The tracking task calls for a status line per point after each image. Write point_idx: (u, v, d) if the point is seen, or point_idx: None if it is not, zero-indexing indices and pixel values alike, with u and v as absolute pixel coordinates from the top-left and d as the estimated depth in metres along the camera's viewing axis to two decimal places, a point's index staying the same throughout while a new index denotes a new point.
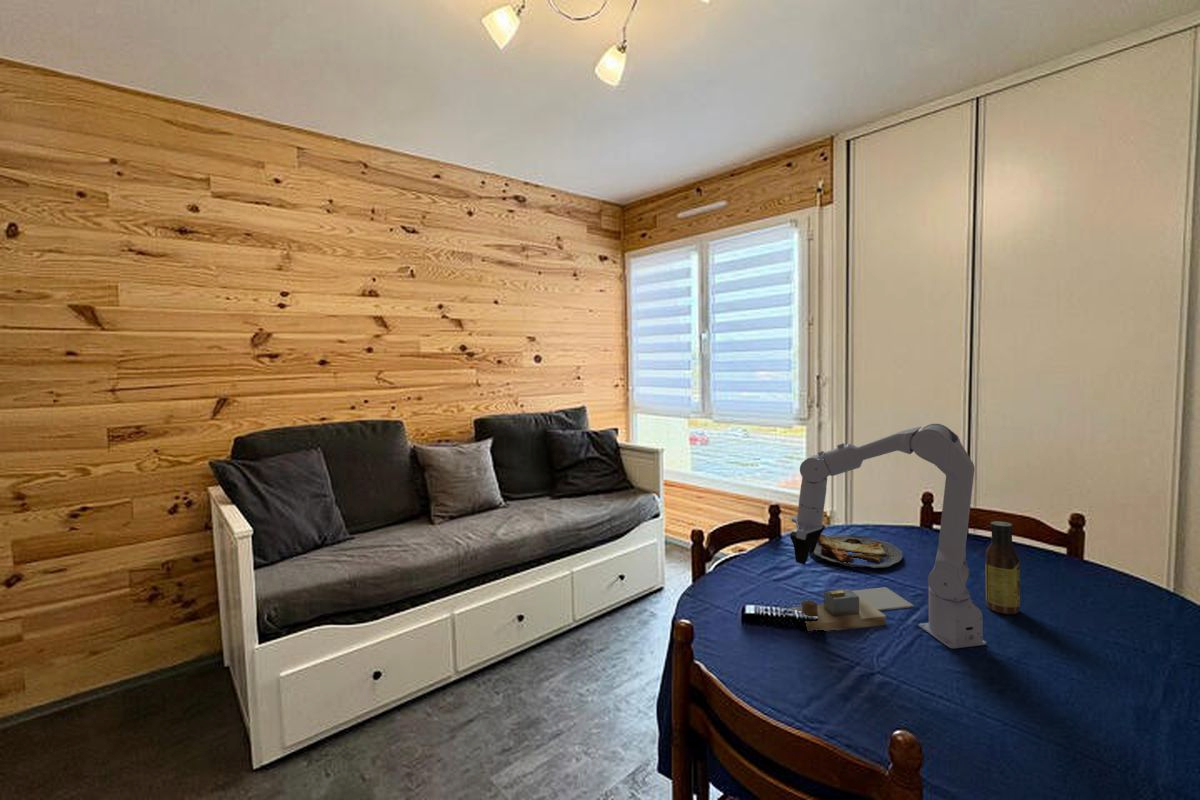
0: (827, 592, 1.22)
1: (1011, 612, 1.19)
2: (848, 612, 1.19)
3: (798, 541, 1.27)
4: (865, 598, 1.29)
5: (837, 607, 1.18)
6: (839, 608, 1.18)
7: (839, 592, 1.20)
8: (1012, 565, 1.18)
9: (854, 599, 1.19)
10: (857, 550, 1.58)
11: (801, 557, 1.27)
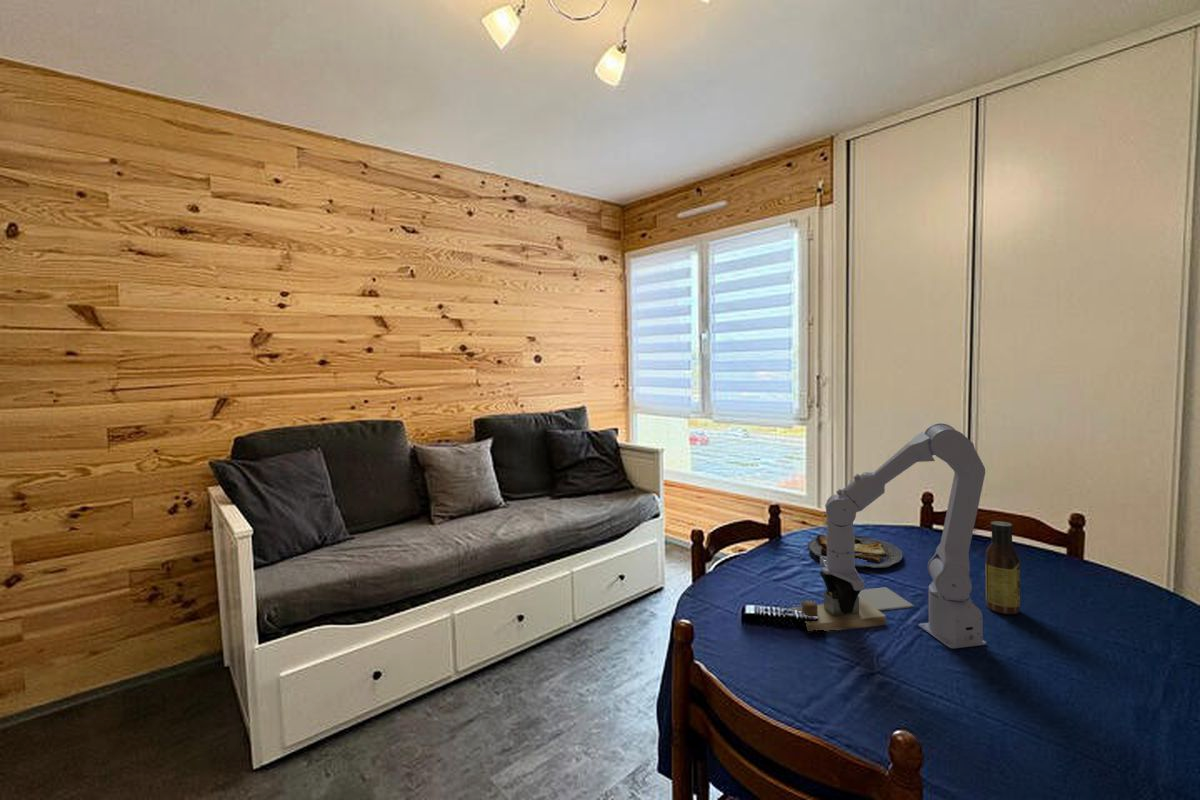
0: (827, 592, 1.22)
1: (1011, 612, 1.19)
2: None
3: None
4: (865, 598, 1.29)
5: (837, 607, 1.18)
6: (839, 608, 1.18)
7: None
8: (1012, 565, 1.18)
9: None
10: (857, 550, 1.58)
11: (848, 606, 1.18)
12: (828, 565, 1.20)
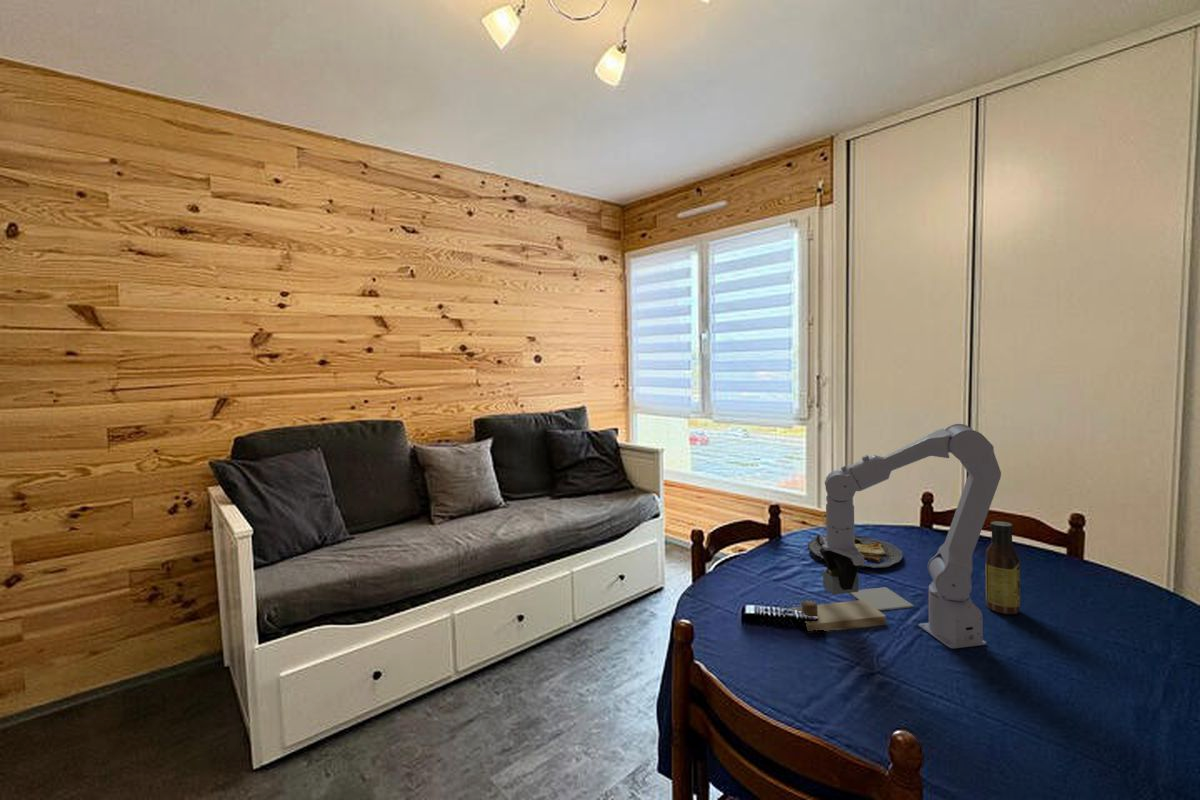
0: (826, 570, 1.21)
1: (1011, 612, 1.19)
2: (847, 590, 1.18)
3: None
4: (865, 598, 1.29)
5: (836, 585, 1.18)
6: (838, 586, 1.18)
7: (838, 570, 1.20)
8: (1012, 565, 1.18)
9: None
10: None
11: (848, 582, 1.17)
12: (828, 541, 1.19)
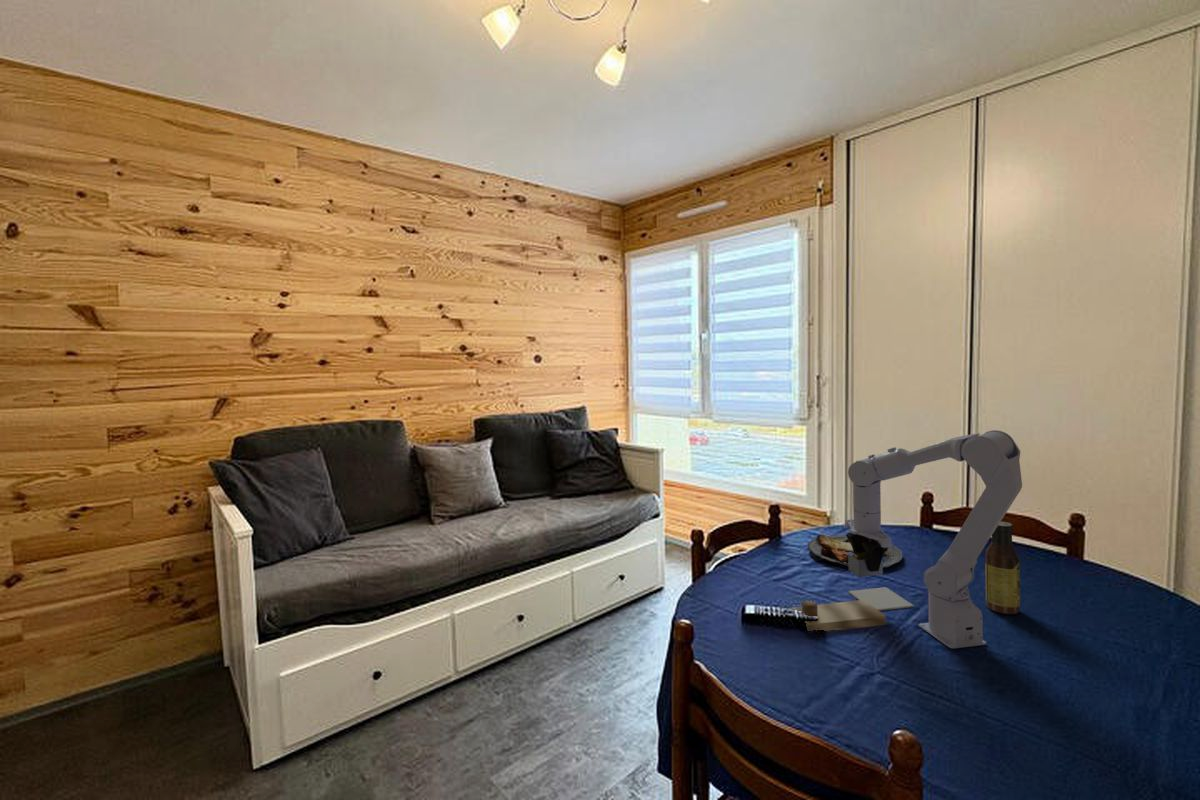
0: (851, 554, 1.26)
1: (1011, 612, 1.19)
2: (872, 572, 1.24)
3: None
4: (865, 598, 1.29)
5: (862, 568, 1.23)
6: (864, 569, 1.23)
7: (863, 554, 1.25)
8: (1012, 565, 1.18)
9: None
10: None
11: (875, 564, 1.23)
12: (855, 526, 1.25)
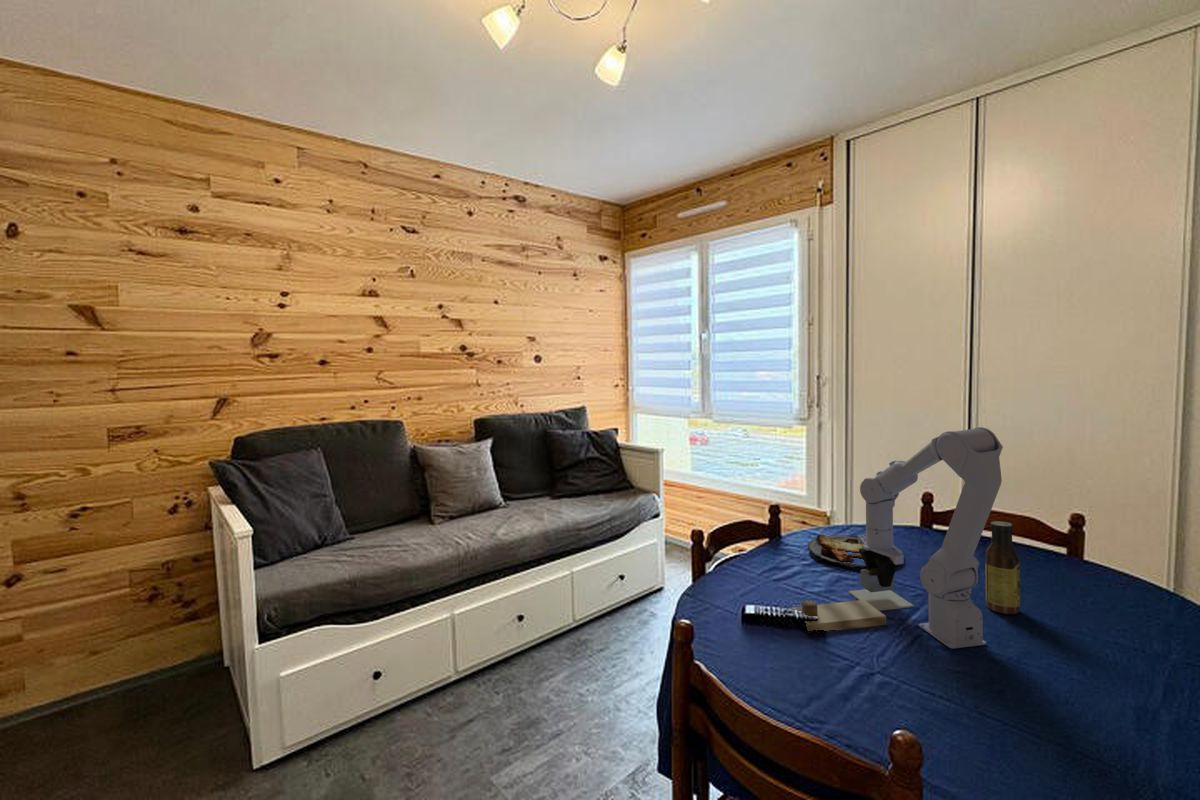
0: (864, 570, 1.30)
1: (1011, 612, 1.19)
2: (884, 588, 1.27)
3: None
4: (865, 598, 1.29)
5: (874, 583, 1.27)
6: (876, 584, 1.27)
7: (875, 569, 1.28)
8: (1012, 565, 1.18)
9: None
10: (857, 550, 1.58)
11: (887, 580, 1.26)
12: (868, 542, 1.28)
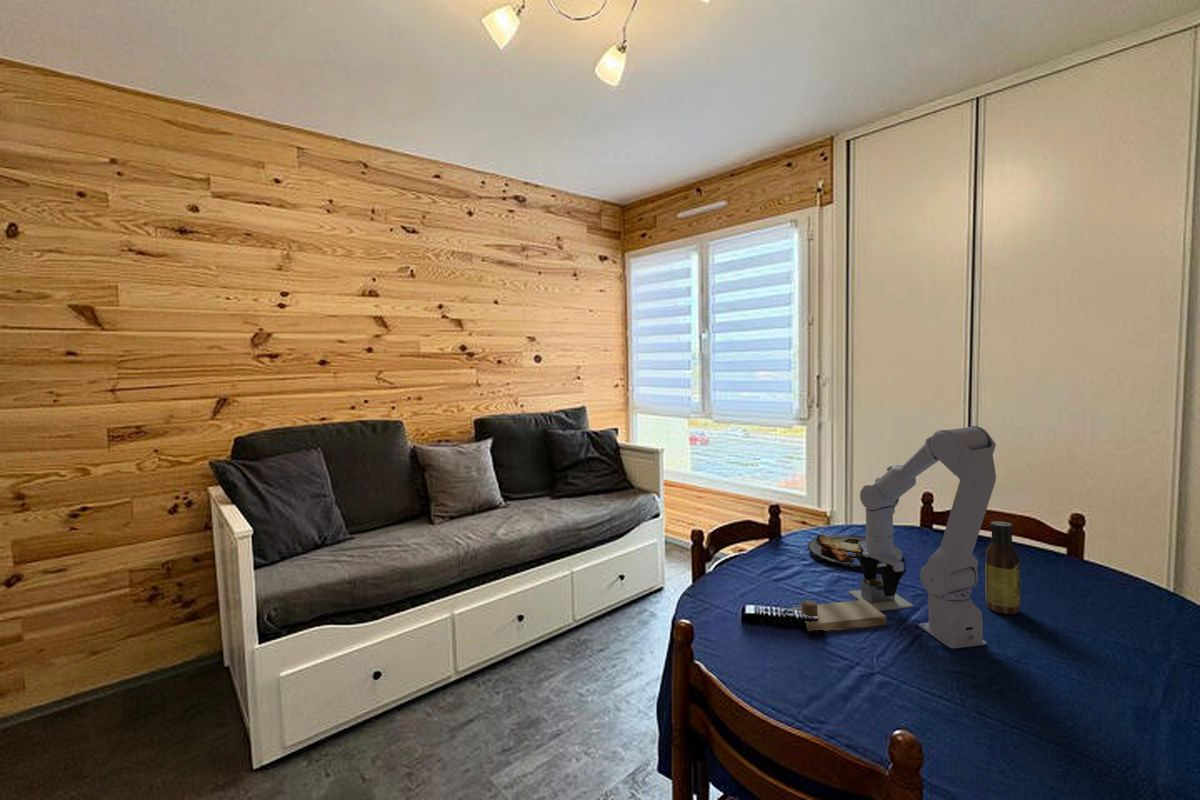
0: (864, 580, 1.30)
1: (1011, 612, 1.19)
2: (885, 599, 1.27)
3: None
4: None
5: (874, 594, 1.27)
6: (876, 595, 1.27)
7: (876, 580, 1.29)
8: (1012, 565, 1.18)
9: None
10: (857, 550, 1.58)
11: (891, 589, 1.25)
12: (868, 549, 1.28)
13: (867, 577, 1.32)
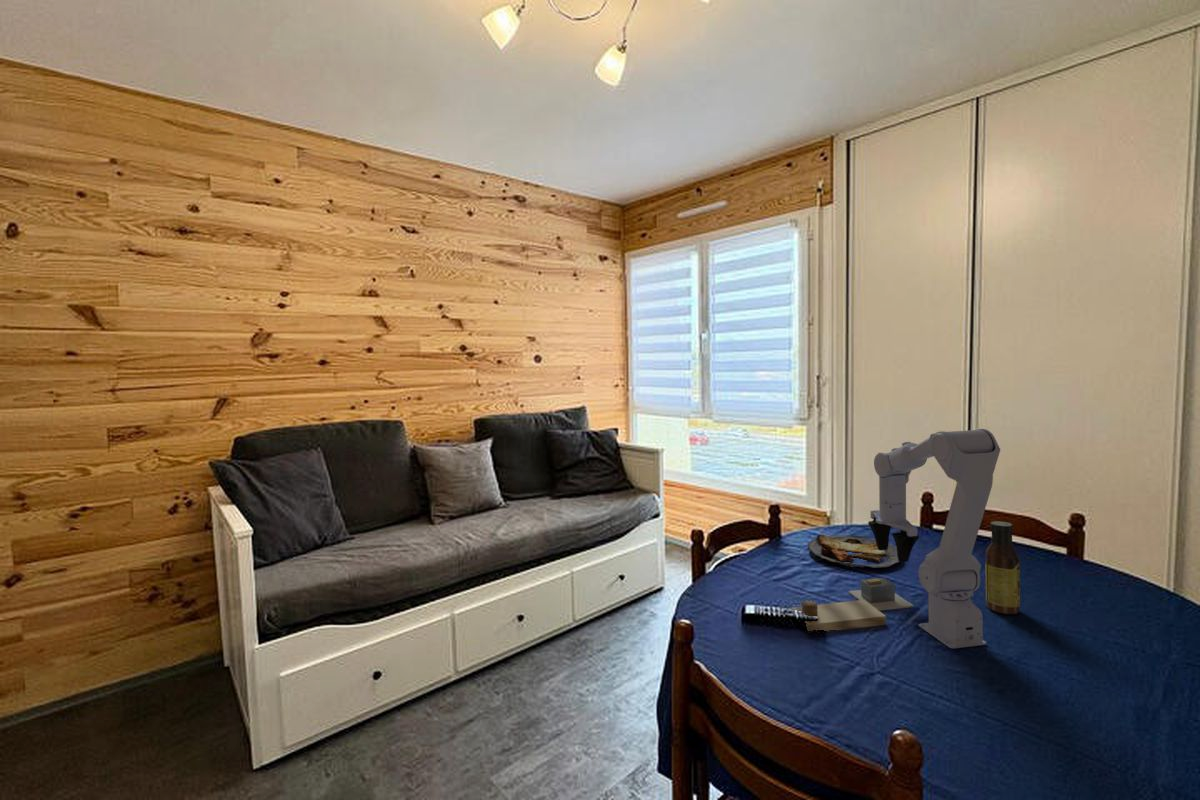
0: (864, 580, 1.30)
1: (1011, 612, 1.19)
2: (885, 599, 1.27)
3: None
4: None
5: (874, 594, 1.27)
6: (876, 595, 1.27)
7: (876, 580, 1.29)
8: (1012, 565, 1.18)
9: (890, 586, 1.27)
10: (857, 550, 1.58)
11: (905, 555, 1.27)
12: (881, 516, 1.31)
13: (880, 544, 1.35)
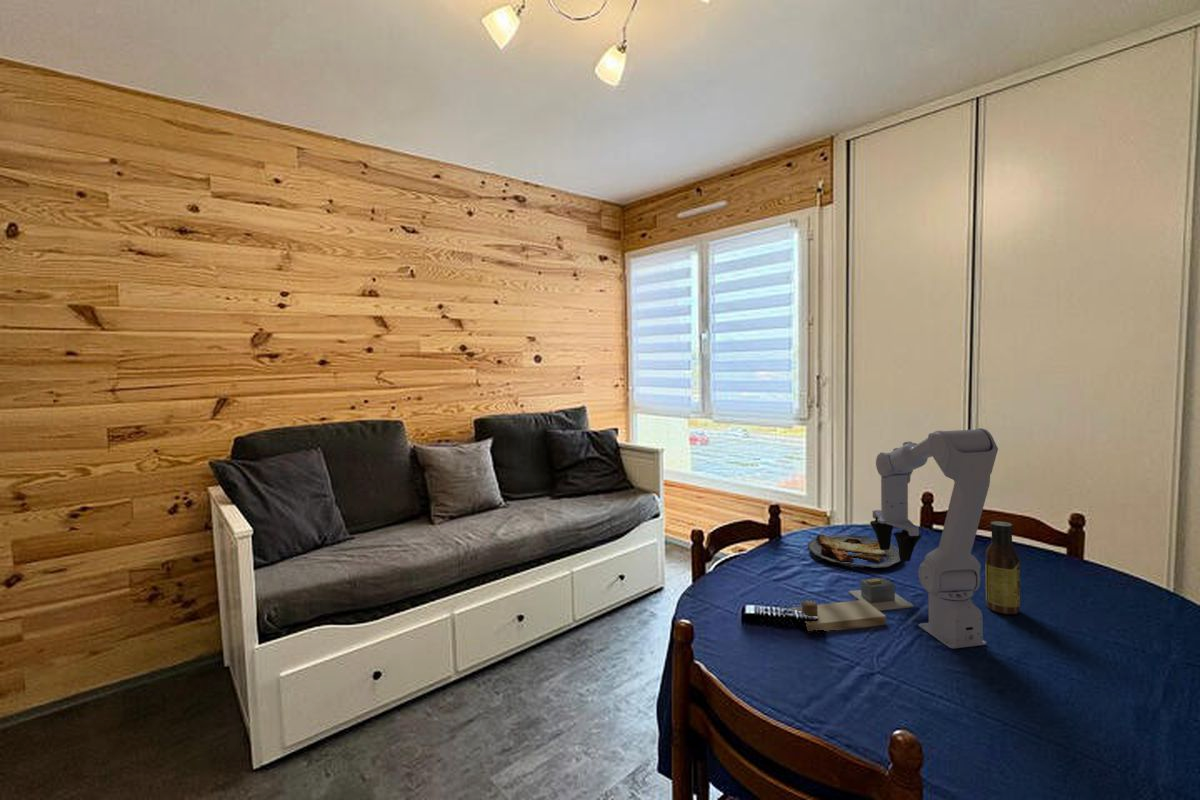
0: (864, 580, 1.30)
1: (1011, 612, 1.19)
2: (885, 599, 1.27)
3: None
4: None
5: (874, 594, 1.27)
6: (876, 595, 1.27)
7: (876, 580, 1.29)
8: (1012, 565, 1.18)
9: (890, 586, 1.27)
10: (857, 550, 1.58)
11: (907, 554, 1.28)
12: (883, 515, 1.31)
13: (882, 544, 1.35)
